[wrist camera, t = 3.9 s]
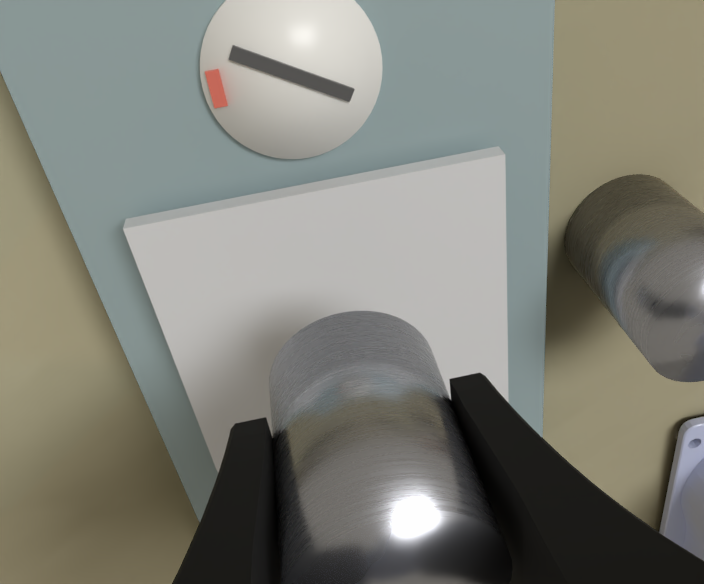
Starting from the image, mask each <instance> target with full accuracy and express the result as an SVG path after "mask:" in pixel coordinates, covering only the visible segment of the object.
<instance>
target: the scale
mask: <svg viewBox="0 0 704 584" xmlns="http://www.w3.org/2000/svg"><path fill="white" fill-rule="evenodd" d="M554 9H555V0H0V71H1V74H2V76H3V78H4V81H5V83H6V85H7V87H8V90H9V92H10V94H11V96H12V99H13V101H14V103H15V105H16V108H17V110H18V112H19V115H20V117H21V119H22V121H23V124H24V126H25V128H26V130H27V133H28V135H29V137H30V139H31V142H32V144H33V146H34V149H35V151H36V153H37V155H38V158H39V160H40V162H41V164H42V167H43V169H44V171H45V174H46V176H47V178H48V180H49V183H50V185H51V187H52V189H53V192H54V194H55V196H56V198H57V201H58V203H59V205H60V208H61V210H62V212H63V214H64V217H65V219H66V221H67V223H68V226H69V228H70V230H71V232H72V235H73V237H74V239H75V242H76V244H77V246H78V248H79V251H80V253H81V255H82V257H83V260H84V262H85V264H86V266H87V269H88V271H89V273H90V276H91V278H92V280H93V282H94V285H95V287H96V289H97V291H98V294H99V296H100V298H101V300H102V303H103V305H104V307H105V310H106V312H107V314H108V316H109V319H110V321H111V323H112V325H113V328H114V330H115V332H116V334H117V337H118V339H119V341H120V344H121V346H122V348H123V350H124V353H125V355H126V357H127V359H128V362H129V364H130V366H131V369H132V371H133V373H134V375H135V378H136V380H137V382H138V384H139V387H140V389H141V391H142V393H143V396H144V398H145V400H146V403H147V405H148V407H149V409H150V412H151V414H152V416H153V418H154V421H155V423H156V425H157V427H158V430H159V432H160V434H161V437H162V439H163V441H164V443H165V446H166V448H167V450H168V452H169V455H170V457H171V459H172V461H173V464H174V466H175V468H176V471H177V473H178V475H179V477H180V480H181V482H182V484H183V486H184V489H185V491H186V493H187V495H188V498H189V500H190V502H191V505H192V507H193V509H194V511H195V514H196V516H197V518H198V520H199V523H200V521H201V519H202V516H203V514H204V511H205V508H206V506H207V503H208V500H209V498H210V495H211V492H212V490H213V487H214V484H215V481H216V478H217V475H218V472H219V469H220V466H221V463H222V460H223V457H224V453H225V450H226V446H227V442H228V438H229V434H230V430H231V428H232V427H233V426H234V424H235V423H240V422H245V421H250V420H255V419H259V418H264V417H266V418H267V422H268V425H269V428H270V431H271V435H272V425H271V409H270V393H269V376H270V371H271V367H272V364H273V362H274V359H275V358H276V356H277V354H278V352H279V351H280V349H281V348H282V347H283V345H284V344H285V343H286V342H287V341H288V340H289V339H290V338H291V337H292V336H293V335H294V334H296V333H297V332H298V331H299V330H301V329H302V328H304V327H306V326H307V325H309V324H311V323H313V322H315V321H317V320H319V319H321V318H324V317H327V316H330V315H334V314H338V313H342V312H349V311H375V312H381V313H386V314H389V315H392V316H395V317H398V318H400V319H402V320H404V321H406V322H408V323H409V324H411V325H412V326H414V327H415V328H416V329H417V330H418V331H419V332H420V333H421V334H422V335H423V336H424V337H425V339H426V340H427V342H428V344H429V345H430V347H431V350H432V352H433V355H434V357H435V360H436V363H437V365H438V368H439V370H440V373H441V376H442V378H443V381H444V383H445V386H446V389H447V391H448V394H449V396H450V399H451V393H450V380H449V379H451V378H456V377H461V376H466V375H471V374H475V373H481V374H483V375H485V376H486V377H487V379H488V380H489V381H490V382H491V383H492V385H493V386H494V387H495V388H496V389H497V391H498V392H499V393H500V394H501V395H502V396H503V397H504V399H505V400H506V401H507V402H508V403H509V404H510V405H511V406H512V407H513V408H514V409H515V411H516V412H517V413H518V414H519V415H520V416H521V417H522V418H523V419H524V420H525V421H526V422H527V423H528V424H529V425H530V426H531V427H532V428H533V429H534V430H535V431H536V432H537V433H538V434H539V435H540V436H541V437H542V433H543V398H544V362H545V327H546V292H547V256H548V221H549V185H550V150H551V115H552V79H553V44H554Z"/></svg>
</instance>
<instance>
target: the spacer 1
mask: <svg viewBox="0 0 704 584" xmlns="http://www.w3.org/2000/svg"><path fill="white" fill-rule="evenodd" d="M269 393H270V409H271V425H272V438H273V453H274V469H275V488H276V505H277V521H278V537H279V553H280V568H281V584H509V583H510V580H511V576H512V559H511V556H510V553H509V550H508V547H507V545H506V542H505V540H504V537H503V534H502V532H501V529H500V527H499V524H498V521H497V519H496V516H495V514H494V511H493V508H492V506H491V503H490V501H489V498H488V495H487V493H486V490H485V488H484V485H483V482H482V480H481V477H480V475H479V472H478V469H477V467H476V464H475V462H474V459H473V456H472V454H471V451H470V449H469V446H468V443H467V441H466V438H465V436H464V433H463V430H462V428H461V425H460V423H459V420H458V417H457V415H456V412H455V409H454V407H453V404H452V402H451V399H450V396H449V394H448V391H447V389H446V386H445V383H444V381H443V378H442V376H441V373H440V370H439V368H438V365H437V363H436V360H435V357H434V355H433V352H432V350H431V347H430V345H429V344H428V342H427V340H426V339H425V337H424V336H423V335H422V334H421V333H420V332H419V331H418V330H417V329H416V328H415V327H414V326H412V325H411V324H409V323H408V322H406V321H404V320H402V319H400V318H398V317H395V316H392V315H389V314H386V313H381V312H375V311H349V312H342V313H338V314H334V315H330V316H327V317H324V318H321V319H319V320H317V321H315V322H313V323H311V324H309V325H307V326H306V327H304V328H302V329H301V330H299V331H298V332H297V333H296V334H294V335H293V336H292V337H291V338H290V339H289V340H288V341H287V342H286V343H285V344H284V345H283V347H282V348H281V349H280V351H279V352H278V354H277V356H276V358H275V359H274V362H273V364H272V367H271V371H270V376H269Z"/></svg>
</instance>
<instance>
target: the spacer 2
mask: <svg viewBox="0 0 704 584" xmlns="http://www.w3.org/2000/svg"><path fill="white" fill-rule="evenodd" d="M565 251H566V254H567V257H568V259H569V261H570V263H571V264H572V265H573V267H574V268H575V269H576V271H577V272H578V273H579V274H580V276H581V277H582V278H583V279H584V281H585V282H586V283H587V284H588V286H589V287H590V288H591V290H592V291H593V292H594V293H595V295H596V296H597V297H598V298H599V300H600V301H601V302H602V303H603V305H604V306H605V307H606V309H607V310H608V311H609V312H610V314H611V315H612V316H613V317H614V319H615V320H616V321H617V323H618V324H619V325H620V326H621V328H622V329H623V330H624V331H625V333H626V334H627V335H628V336H629V338H630V339H631V340H632V342H633V343H634V344H635V345H636V347H637V348H638V349H639V350H640V352H641V353H642V354H643V355H644V357H645V358H646V359H647V361H648V362H649V363H650V364H651V366H652V367H653V368H654V369H655V370H656V371H657V372H658V373H659V374H661V375H662V376H664V377H666V378H668V379H671V380H675V381H680V382H698V381H704V213H703V212H702V211H700V210H699V209H698V208H697V207H695V206H694V205H693V204H692V203H690V202H689V201H688V200H687V199H685V198H684V197H683V196H682V195H680V194H679V193H678V192H677V191H675V190H674V189H673V188H672V187H670V186H669V185H668V184H667V183H665V182H664V181H662V180H661V179H658V178H656V177H653V176H650V175H628V176H624V177H620V178H617V179H614V180H612V181H609V182H608V183H606V184H604V185H602V186H600V187H599V188H597V189H596V190H595V191H593V192H592V193H591V194H589V195H588V196H587V197H586V198H585V199H584V200H583V201H582V203H581V204H580V205H579V206H578V207H577V209H576V210H575V212H574V213H573V215H572V217H571V219H570V221H569V224H568V226H567V229H566V233H565Z"/></svg>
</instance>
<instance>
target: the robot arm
mask: <svg viewBox="0 0 704 584" xmlns="http://www.w3.org/2000/svg"><path fill="white" fill-rule="evenodd" d="M449 380H450V393H451V402H452V404H453V407H454V409H455V412H456V415H457V417H458V420H459V423H460V425H461V428H462V430H463V433H464V436H465V438H466V441H467V443H468V446H469V449H470V451H471V454H472V456H473V459H474V462H475V464H476V467H477V469H478V472H479V475H480V477H481V480H482V482H483V485H484V488H485V490H486V493H487V495H488V498H489V501H490V503H491V506H492V508H493V511H494V514H495V516H496V519H497V521H498V524H499V527H500V529H501V532H502V534H503V537H504V540H505V542H506V545H507V547H508V550H509V553H510V556H511V559H512V576H511V580H510V583H509V584H704V416H703V417H699V418H694V419H691V420H688V421H686V422H685V423H684V424H683V425H682V426H681V427H680V430H679V434H678V439H677V444H676V449H675V454H674V459H673V464H672V469H671V475H670V480H669V485H668V490H667V495H666V500H665V505H664V510H663V516H662V521H661V526H660V531H659V532H657V531H656V530H655V529H653V528H652V527H650V526H649V525H647V524H646V523H645V522H643V521H642V520H640V519H639V518H637V517H636V516H635V515H633V514H632V513H631V512H629V511H628V510H627V509H625V508H624V507H623V506H621V505H620V504H619V503H617V502H616V501H615V500H613V499H612V498H611V497H609V496H608V495H607V494H606V493H604V492H603V491H602V490H601V489H599V488H598V487H597V486H596V485H594V484H593V483H592V482H591V481H590V480H588V479H587V478H586V477H585V476H584V475H583V474H581V473H580V472H579V471H578V470H577V469H576V468H574V467H573V466H572V465H571V464H570V463H569V462H568V461H567V460H565V459H564V458H563V457H562V456H561V455H560V454H559V453H558V452H557V451H556V450H555V449H553V448H552V447H551V446H550V445H549V444H548V443H547V442H546V441H545V440H544V439H543V438H542V437H541V436H540V435H539V434H538V433H537V432H536V431H535V430H534V429H533V428H532V427H531V426H530V425H529V424H528V423H527V422H526V421H525V420H524V419H523V418H522V417H521V416H520V415H519V414H518V413H517V412H516V411H515V409H514V408H513V407H512V406H511V405H510V404H509V403H508V402H507V401H506V400H505V399H504V397H503V396H502V395H501V394H500V393H499V392H498V391H497V389H496V388H495V387H494V386H493V385H492V383H491V382H490V381H489V380H488V379H487V377H486V376H485V375H483V374H481V373H475V374H471V375H466V376H461V377H456V378H451V379H449ZM172 584H281V568H280V553H279V537H278V521H277V505H276V488H275V469H274V453H273V438H272V435H271V431H270V428H269V425H268V422H267V418H266V417H264V418H259V419H255V420H250V421H245V422H240V423H235V424H234V426H233V427H232V428H231V430H230V434H229V438H228V442H227V446H226V450H225V453H224V457H223V460H222V463H221V466H220V469H219V472H218V475H217V478H216V481H215V484H214V487H213V490H212V492H211V495H210V498H209V500H208V503H207V506H206V508H205V511H204V514H203V516H202V519H201V521H200V524H199V526H198V529H197V531H196V533H195V535H194V538H193V540H192V542H191V544H190V547H189V549H188V551H187V553H186V556H185V558H184V560H183V562H182V564H181V567H180V569H179V571H178V573H177V575H176V577H175V579H174V581H173V583H172Z"/></svg>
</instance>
